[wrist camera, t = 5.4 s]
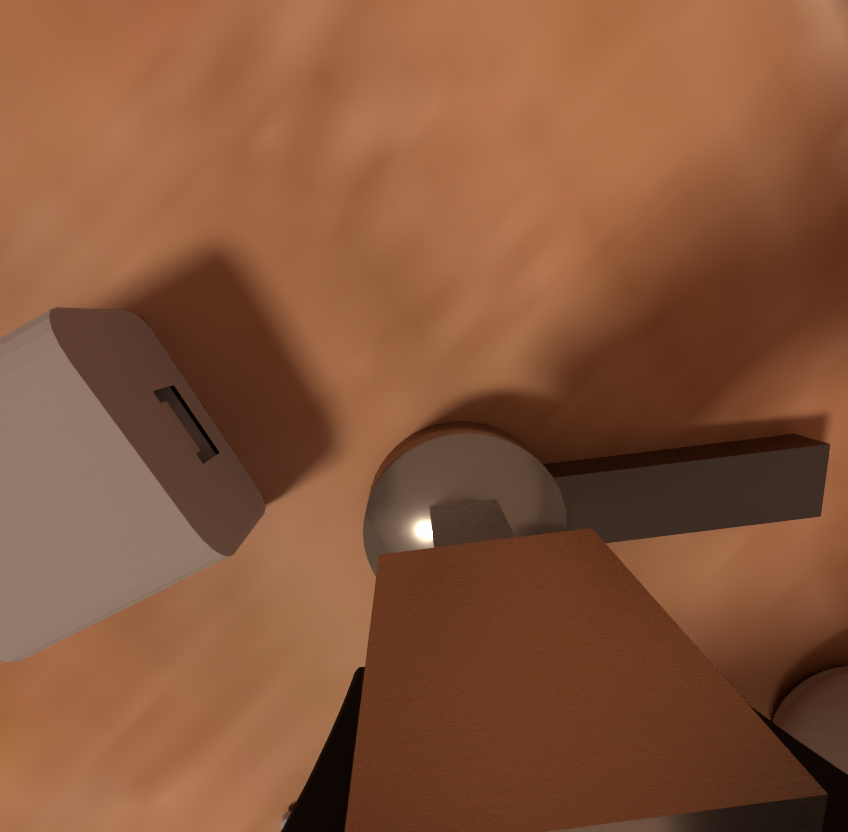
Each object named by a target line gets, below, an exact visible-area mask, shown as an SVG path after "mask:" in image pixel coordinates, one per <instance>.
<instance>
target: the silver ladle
mask: <svg viewBox="0 0 848 832" xmlns="http://www.w3.org/2000/svg"><path fill="white" fill-rule="evenodd" d="M829 450H830V444H828V443H824V442H821V441H817V440H814V439H811V438H807V437H804V436H800V435H797V434H790V435H782V436H773V437H765V438H757V439H749V440H740V441H732V442H724V443H716V444H707V445H699V446H691V447H683V448H674V449H666V450H658V451H650V452H641V453H633V454H625V455H616V456H608V457H600V458H592V459H583V460H575V461H567V462H559V463H550V464H542V463H541V462H540V461H539V460H538V459H537V458H536V457H535V456H534V455H533V454H532V453H531V452H530V451H529V450H528V449H527V448H526V447H525V446H524V445H523V444H522V443H521V442H520V441H519V440H517V439H516V438H514V437H513V436H512V435H510V434H509V433H507V432H505V431H503V430H501V429H499V428H496V427H493V426H490V425H487V424H482V423H477V422H468V421H456V422H446V423H441V424H437V425H434V426H430V427H427V428H425V429H423V430H420V431H418V432H416V433H414V434H413V435H411V436H410V437H408V438H406V439H405V440H404V441H402V442H401V443H400V444H399V445H397V446H396V447H395V448H394V449H393V450H392V451H391V452H390V454H389V455H388V456H387V457H386V458H385V460H384V461H383V463H382V464H381V466H380V467H379V469H378V471H377V473H376V475H375V478H374V480H373V483H372V486H371V490H370V495H369V499H368V504H367V508H366V513H365V518H364V528H363V537H364V547H365V551H366V555H367V558H368V561H369V563H370V566H371V568H372V570H373V572H374V574H375V575H376V574H377V566H378V558H379V554H387V553H395V552H403V551H411V550H419V549H427V548H435V547H443V546H451V545H460V544H468V543H476V542H484V541H492V540H500V539H508V538H516V537H524V536H532V535H540V534H548V533H556V532H564V531H572V530H580V529H588V528H592V529H593V530H594V531H595V532H596V533H597V534H598V536H599V537H600V538H601V539H602V540H603V541H604V542H605V543H611V542H619V541H627V540H635V539H643V538H651V537H659V536H667V535H675V534H683V533H691V532H699V531H707V530H715V529H723V528H731V527H739V526H747V525H756V524H764V523H772V522H780V521H788V520H796V519H804V518H812V517H820V516H821V510H822V503H823V495H824V487H825V480H826V472H827V465H828V457H829Z"/></svg>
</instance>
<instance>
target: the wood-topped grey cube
mask: <svg viewBox="0 0 848 832" xmlns="http://www.w3.org/2000/svg"><path fill="white" fill-rule="evenodd" d="M827 797H828V794H827V793H826V791H825V790H824V789H823V788H822V787H821V786H820V785H819V784H818V782H817V781H816V780H815V779H814V778H813V777H812V776H811V775H810V773H809V772H808V771H807V770H806V769H805V768H804V767H803V766H802V764H801V763H800V762H799V761H798V760H797V759H796V758H795V756H794V755H793V754H792V753H791V752H790V751H789V750H788V749H787V747H786V746H785V745H784V744H783V743H782V742H781V741H780V740H779V738H778V737H777V736H776V735H775V734H774V733H773V732H772V731H771V729H770V728H769V727H768V726H767V725H766V724H765V723H764V722H763V720H762V719H761V718H760V717H759V716H758V715H757V714H756V713H755V711H754V710H753V709H752V708H751V707H750V706H749V705H748V704H747V702H746V701H745V700H744V699H743V698H742V697H741V696H740V694H739V693H738V692H737V691H736V690H735V689H734V688H733V687H732V685H731V684H730V683H729V682H728V681H727V680H726V679H725V678H724V676H723V675H722V674H721V673H720V672H719V671H718V670H717V669H716V667H715V666H714V665H713V664H712V663H711V662H710V661H709V660H708V658H707V657H706V656H705V655H704V654H703V653H702V652H701V651H700V649H699V648H698V647H697V646H696V645H695V644H694V643H693V641H692V640H691V639H690V638H689V637H688V636H687V635H686V634H685V632H684V631H683V630H682V629H681V628H680V627H679V626H678V625H677V623H676V622H675V621H674V620H673V619H672V618H671V617H670V616H669V614H668V613H667V612H666V611H665V610H664V609H663V608H662V607H661V605H660V604H659V603H658V602H657V601H656V600H655V599H654V598H653V596H652V595H651V594H650V593H649V592H648V591H647V590H646V589H645V587H644V586H643V585H642V584H641V583H640V582H639V581H638V579H637V578H636V577H635V576H634V575H633V574H632V573H631V572H630V570H629V569H628V568H627V567H626V566H625V565H624V564H623V563H622V561H621V560H620V559H619V558H618V557H617V556H616V555H615V554H614V552H613V551H612V550H611V549H610V548H609V547H608V546H607V545H606V543H605V542H604V541H603V540H602V539H601V538H600V537H599V536H598V534H597V533H596V532H595V531H594V530H593V529H592V528H588V529H580V530H572V531H564V532H556V533H548V534H540V535H532V536H524V537H516V538H508V539H500V540H492V541H484V542H476V543H468V544H460V545H451V546H443V547H435V548H427V549H419V550H411V551H403V552H395V553H387V554H379V558H378V566H377V574H376V583H375V591H374V599H373V607H372V615H371V623H370V631H369V639H368V647H367V655H366V663H365V671H364V680H363V688H362V696H361V704H360V712H359V720H358V728H357V736H356V744H355V752H354V760H353V768H352V777H351V785H350V793H349V801H348V809H347V817H346V825H345V832H822V827H823V821H824V815H825V809H826V803H827Z"/></svg>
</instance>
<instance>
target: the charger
mask: <svg viewBox="0 0 848 832" xmlns="http://www.w3.org/2000/svg"><path fill="white" fill-rule="evenodd" d="M172 385H174V386H175V388H176V389H177V391H178V392H179V394H180V395H181V397H182V398H183V399H184V401H185V402H186V404H187V405H188V407H189V408H190V410H191V411H192V413H193V414H194V416H195V417H196V419H197V420H198V422H199V423H200V424H201V426H202V427H203V429H204V430H205V432H206V433H207V435H208V436H209V438H210V439H211V441H212V442H213V444H214V445H215V447H216V448H217V449H218V451H219V454H217V455H216V454H215V452H214V451H213V449H212V448H211V446H210V445H209V443H208V442H207V440H206V439H205V437H204V436H203V435H202V433H201V432H200V430H199V429H198V427H197V426H196V424H195V423H194V421H193V420H192V418H191V417H190V415H189V414H188V413H187V411H186V410H185V408H184V407H183V405H182V404H181V402H180V401H179V399H178V398H177V396H176V395H175V394H174V392H173V391H172V389H171V388H170V386H172ZM265 509H266V508H265V502H264V499H263V496H262V494H261V493H260V491H259V490H258V488H257V486H256V485H255V483H254V482H253V480H252V479H251V477H250V476H249V474H248V473H247V471H246V470H245V468H244V467H243V465H242V464H241V462H240V461H239V459H238V458H237V456H236V455H235V453H234V452H233V450H232V449H231V447H230V446H229V444H228V443H227V441H226V440H225V438H224V437H223V435H222V434H221V432H220V431H219V429H218V428H217V426H216V425H215V423H214V422H213V421H212V419H211V418H210V416H209V415H208V413H207V412H206V410H205V409H204V407H203V406H202V404H201V403H200V401H199V400H198V398H197V397H196V395H195V394H194V392H193V391H192V389H191V388H190V386H189V385H188V383H187V382H186V380H185V379H184V377H183V376H182V374H181V373H180V371H179V370H178V368H177V367H176V365H175V364H174V362H173V361H172V359H171V358H170V356H169V355H168V353H167V352H166V350H165V349H164V347H163V346H162V344H161V343H160V341H159V340H158V339H157V337H156V336H155V334H154V333H153V331H152V330H151V328H150V327H149V325H148V324H147V323H146V322H145V321H144V320H143V319H141V318H140V317H139V316H137V315H136V314H135V313H133V312H131V311H128V310H110V309H84V308H59V307H56V308H54V309H51V310H49V311H48V312H46V313H44V314H42V315H41V316H39V317H37V318H35V319H34V320H32V321H30V322H28V323H27V324H25V325H23V326H21V327H20V328H18V329H16V330H14V331H13V332H11V333H9V334H7V335H6V336H4V337H2V338H0V660H1V661H4V662H19V661H21V660H23V659H25V658H27V657H29V656H31V655H33V654H35V653H37V652H39V651H41V650H43V649H45V648H47V647H49V646H51V645H53V644H55V643H57V642H59V641H61V640H63V639H65V638H67V637H69V636H71V635H73V634H75V633H77V632H79V631H81V630H83V629H85V628H87V627H89V626H91V625H93V624H95V623H97V622H99V621H101V620H103V619H105V618H107V617H109V616H111V615H113V614H115V613H117V612H119V611H121V610H123V609H125V608H127V607H129V606H131V605H133V604H135V603H137V602H139V601H141V600H143V599H145V598H147V597H149V596H151V595H153V594H155V593H157V592H159V591H161V590H163V589H165V588H167V587H169V586H171V585H173V584H175V583H177V582H179V581H181V580H183V579H185V578H187V577H189V576H191V575H193V574H195V573H197V572H199V571H201V570H203V569H205V568H207V567H209V566H211V565H213V564H215V563H217V562H219V561H221V560H223V559H225V558H227V557H229V556H231V555H233V554H234V553H235V552H236V551H237V549H238V548H239V546H240V545H241V544H242V542H243V541H244V540H245V538H246V537H247V536H248V534H249V533H250V532H251V530H252V529H253V528H254V526H255V525H256V524H257V522H258V521H259V520H260V518H261V517H262V516H263V514H264V513H265Z"/></svg>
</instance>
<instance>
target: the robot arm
mask: <svg viewBox="0 0 848 832" xmlns="http://www.w3.org/2000/svg"><path fill="white" fill-rule="evenodd" d="M364 671H365V667H359V668H358V669H357V670H356V672H355V673H354V676H353V679H352V682H351V685H350V687H349V690H348V692H347V695H346V697H345V700H344V702H343V705H342V707H341V709H340V712H339V714H338V716H337V719H336V721H335V723H334V726H333V728H332V730H331V732H330V735H329V737H328V739H327V741H326V743H325V745H324V747H323V749H322V752H321V754H320V756H319V758H318V760H317V762H316V764H315V766H314V769H313V771H312V773H311V775H310V777H309V779H308V781H307V783H306V785H305V787H304V789H303V790H302V792H301V794H300V796H299V798H298V800H297V802H296V804H295V806H294V808H293V810H292V811H288V812H286V813H285V814H284V815H283V817H282V821H281V829H282V831H281V832H345V825H346V817H347V809H348V801H349V793H350V785H351V777H352V768H353V760H354V752H355V744H356V736H357V728H358V720H359V712H360V704H361V696H362V688H363V680H364ZM750 707H751V706H750ZM751 708H752V707H751ZM752 709H753V708H752ZM753 710H754V711H755V713H756V714H757V715H758V716H759V717H760V718H761V719H762V720H763V722H764V723H765V724H766V725H767V726H768V727H769V728H770V729H771V731H772V732H773V733H774V734H775V735H776V736H777V737H778V738H779V740H780V741H781V742H782V743H783V744H784V745H785V746H786V747H787V749H788V750H789V751H790V752H791V753H792V754H793V755H794V756H795V758H796V759H797V760H798V761H799V762H800V763H801V764H802V766H803V767H804V768H805V769H806V770H807V771H808V772H809V773H810V775H811V776H812V777H813V778H814V779H815V780H816V781H817V782H818V784H819V785H820V786H821V787H822V788H823V789H824V790H825V791H826V793H827V794H828V797H827V803H826V809H825V815H824V821H823V827H822V832H848V774H846V773H845V772H843V771H842V770H840V769H839V768H837V767H836V766H834V765H833V764H831V763H830V762H829V761H827V760H826V759H824V758H823V757H821V756H820V755H818V754H817V753H815V752H814V751H813V750H811V749H810V748H808V747H807V746H805V745H804V744H802V743H801V742H799V741H798V740H797V739H795V738H794V737H792V736H791V735H789V734H788V733H787V732H785V731H784V730H782V729H781V728H780V727H778V726H777V725H775V724H774V723H773V722H771V721H770V720H768V719H767V718H766V717H764V716H763V715H762V714H760V713H759V712H757V711H756V710H755V709H753Z"/></svg>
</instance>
